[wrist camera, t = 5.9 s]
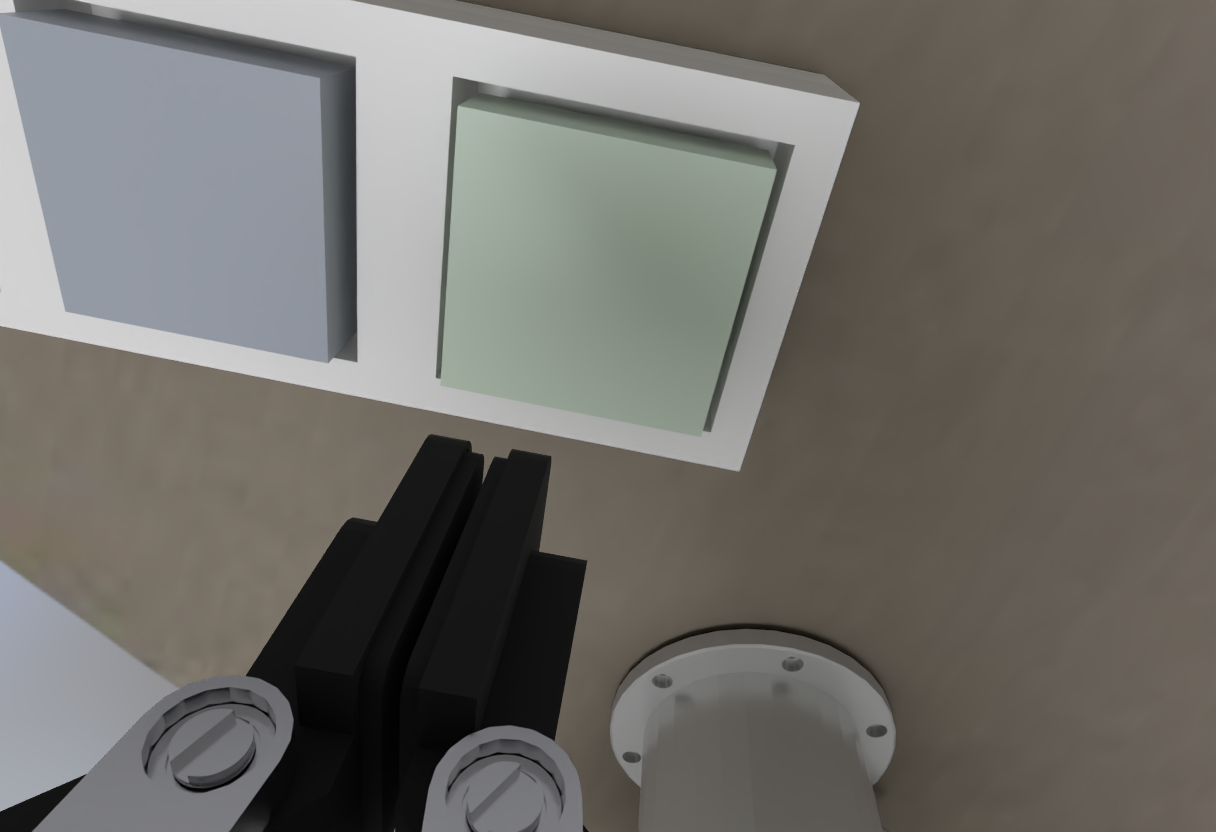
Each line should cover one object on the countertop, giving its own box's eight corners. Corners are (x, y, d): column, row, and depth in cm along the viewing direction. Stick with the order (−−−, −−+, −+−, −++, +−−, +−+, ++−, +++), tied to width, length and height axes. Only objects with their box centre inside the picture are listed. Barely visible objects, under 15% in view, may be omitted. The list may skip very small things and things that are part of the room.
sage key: (768, 150, 18) (776, 170, 16) (699, 399, 21) (700, 437, 20) (479, 92, 18) (457, 105, 16) (460, 352, 21) (440, 385, 20)
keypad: (824, 74, 20) (859, 103, 16) (731, 387, 26) (738, 471, 21) (-263, -145, 20) (-518, -175, 16) (-134, 216, 25) (-300, 266, 21)
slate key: (355, 67, 18) (319, 78, 16) (356, 332, 21) (328, 363, 20) (63, 8, 18) (-3, 13, 16) (115, 283, 21) (65, 311, 20)
